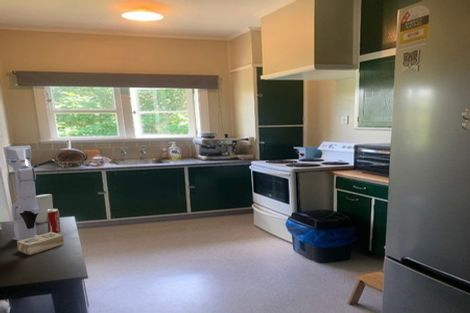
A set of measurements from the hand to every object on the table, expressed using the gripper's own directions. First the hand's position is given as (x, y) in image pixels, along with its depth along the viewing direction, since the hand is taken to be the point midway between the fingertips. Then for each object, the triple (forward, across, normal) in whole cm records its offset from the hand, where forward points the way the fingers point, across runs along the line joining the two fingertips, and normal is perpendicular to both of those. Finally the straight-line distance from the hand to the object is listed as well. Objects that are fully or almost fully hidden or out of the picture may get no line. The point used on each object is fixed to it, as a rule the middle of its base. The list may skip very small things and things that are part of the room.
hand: (30, 228), depth 131 cm
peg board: (+9, 0, +3) cm, 10 cm away
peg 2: (+9, 0, +7) cm, 11 cm away
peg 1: (+9, 0, 0) cm, 9 cm away
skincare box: (+10, -44, +26) cm, 52 cm away
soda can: (+10, -14, +16) cm, 24 cm away
